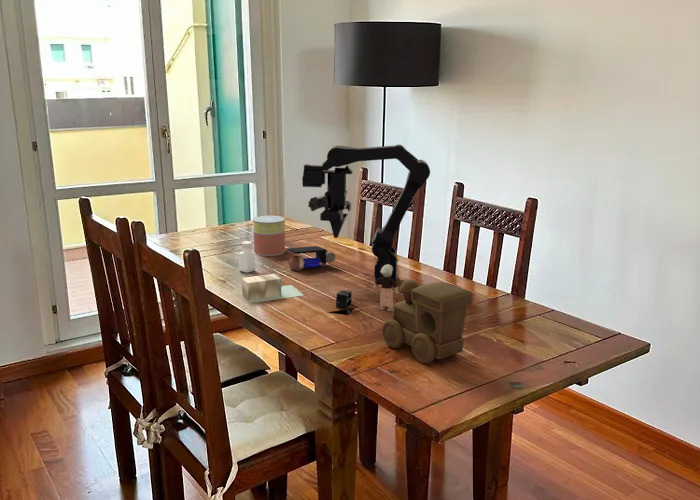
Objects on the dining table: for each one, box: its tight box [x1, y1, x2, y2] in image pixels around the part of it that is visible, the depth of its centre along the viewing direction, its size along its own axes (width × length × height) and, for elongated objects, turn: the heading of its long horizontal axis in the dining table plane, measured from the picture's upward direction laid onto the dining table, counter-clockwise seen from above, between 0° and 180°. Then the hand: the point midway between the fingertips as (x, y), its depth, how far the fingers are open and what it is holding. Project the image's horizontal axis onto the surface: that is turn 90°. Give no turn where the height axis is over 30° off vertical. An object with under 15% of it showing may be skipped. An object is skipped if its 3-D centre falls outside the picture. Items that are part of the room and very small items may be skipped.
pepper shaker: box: [238, 240, 257, 274], centre depth 210 cm, size 4×4×10 cm
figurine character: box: [286, 245, 336, 271], centre depth 215 cm, size 7×8×15 cm
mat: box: [239, 284, 304, 304], centre depth 189 cm, size 16×10×1 cm, turn 116°
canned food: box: [252, 214, 286, 257], centre depth 232 cm, size 11×11×12 cm
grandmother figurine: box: [372, 264, 400, 312], centre depth 179 cm, size 8×4×13 cm, turn 71°
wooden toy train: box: [381, 279, 473, 365], centre depth 152 cm, size 20×11×17 cm, turn 38°
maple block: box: [241, 273, 282, 301], centre depth 187 cm, size 5×5×10 cm
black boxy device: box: [326, 289, 355, 316], centre depth 180 cm, size 13×8×5 cm, turn 162°
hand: (335, 237), depth 203 cm, fingers closed
